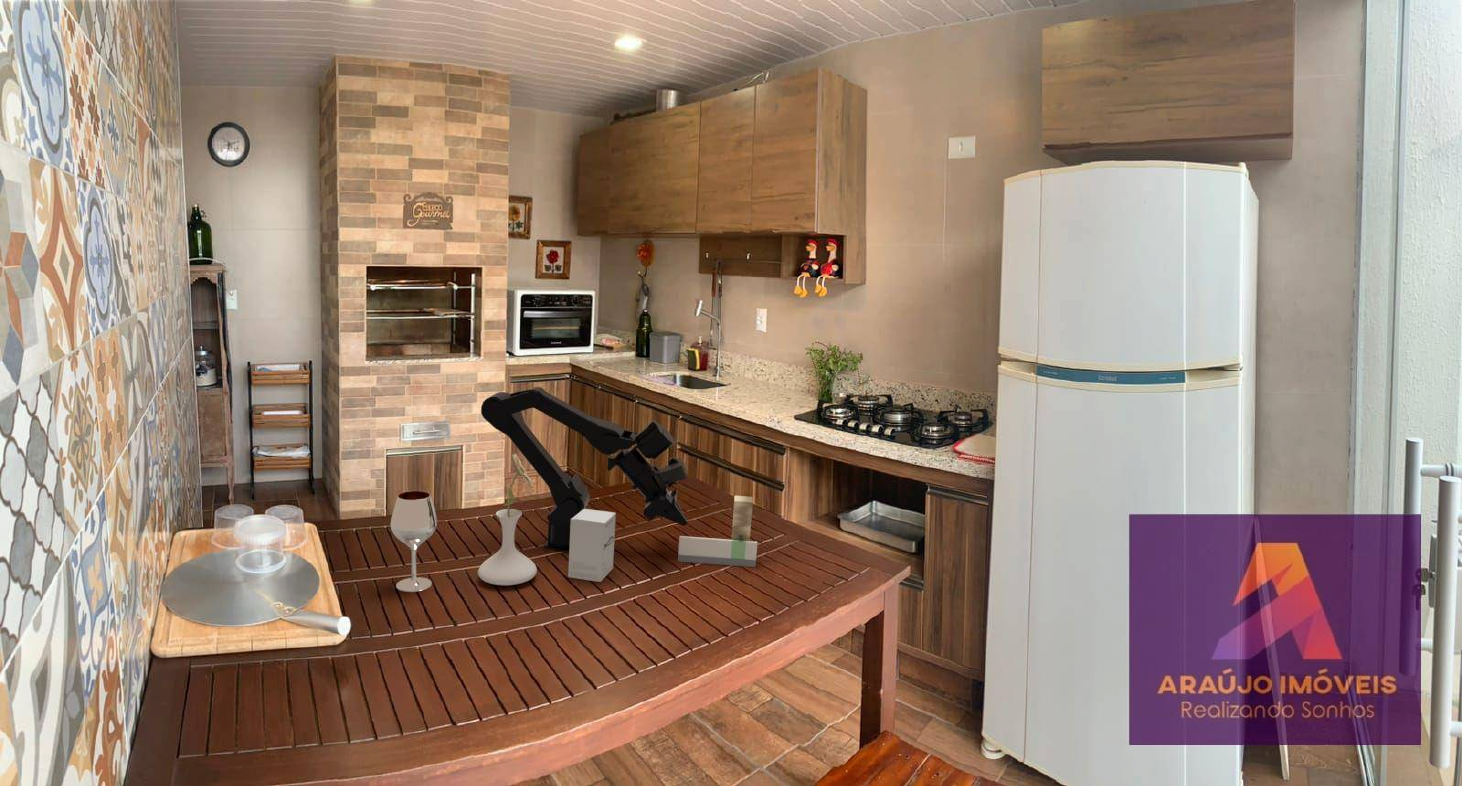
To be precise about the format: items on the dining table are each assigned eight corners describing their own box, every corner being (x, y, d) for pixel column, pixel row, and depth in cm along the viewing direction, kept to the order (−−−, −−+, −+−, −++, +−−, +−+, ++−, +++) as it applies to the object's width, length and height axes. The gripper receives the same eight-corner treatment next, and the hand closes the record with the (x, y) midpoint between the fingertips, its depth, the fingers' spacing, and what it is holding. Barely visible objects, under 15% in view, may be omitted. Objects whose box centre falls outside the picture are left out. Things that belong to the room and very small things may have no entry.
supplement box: (601, 583, 162) (604, 523, 160) (567, 577, 163) (569, 518, 161) (614, 569, 169) (616, 512, 167) (580, 564, 170) (583, 507, 168)
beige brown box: (727, 557, 175) (731, 504, 173) (728, 547, 182) (732, 495, 179) (750, 559, 175) (755, 505, 173) (750, 548, 182) (754, 496, 179)
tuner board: (677, 561, 176) (679, 537, 175) (680, 548, 184) (682, 525, 183) (755, 567, 176) (757, 543, 175) (754, 553, 184) (756, 530, 183)
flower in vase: (528, 593, 155) (532, 467, 151) (469, 588, 155) (471, 463, 151) (544, 566, 168) (548, 450, 163) (490, 562, 168) (492, 446, 163)
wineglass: (392, 596, 149) (392, 503, 146) (388, 579, 156) (388, 490, 153) (439, 591, 153) (440, 500, 150) (433, 574, 160) (434, 487, 157)
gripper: (663, 460, 166) (712, 515, 168) (671, 439, 185) (715, 489, 187) (622, 493, 168) (671, 548, 170) (635, 469, 186) (679, 519, 188)
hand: (686, 524), depth 178 cm, fingers closed
